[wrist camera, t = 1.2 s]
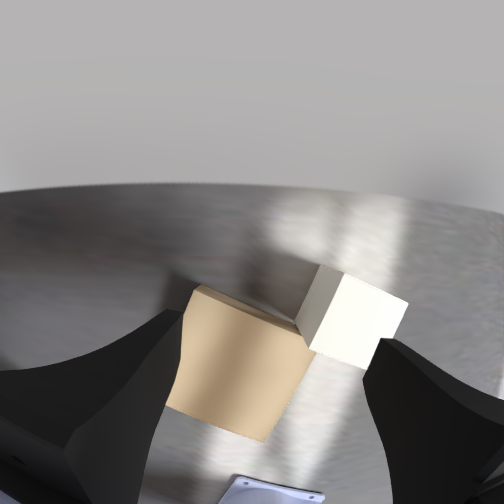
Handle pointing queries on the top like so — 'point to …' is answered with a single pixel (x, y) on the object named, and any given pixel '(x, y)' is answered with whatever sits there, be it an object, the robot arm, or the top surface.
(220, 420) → the oak block
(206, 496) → the top surface
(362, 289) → the white block
